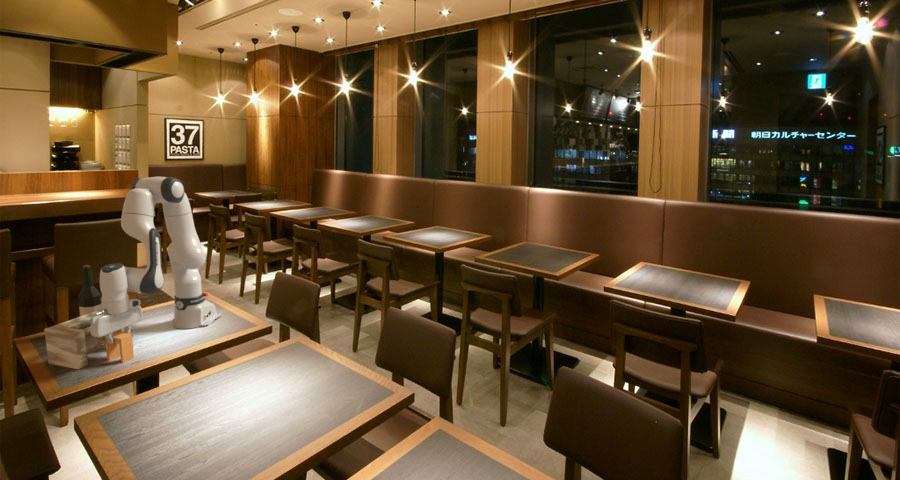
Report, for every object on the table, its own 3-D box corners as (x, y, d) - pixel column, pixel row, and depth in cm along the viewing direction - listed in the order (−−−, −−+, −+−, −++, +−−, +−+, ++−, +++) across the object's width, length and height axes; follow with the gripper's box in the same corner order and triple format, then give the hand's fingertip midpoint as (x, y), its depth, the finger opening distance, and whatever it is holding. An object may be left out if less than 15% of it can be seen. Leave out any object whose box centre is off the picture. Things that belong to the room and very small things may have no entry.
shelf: (104, 340, 216) (101, 309, 213) (131, 344, 213) (129, 313, 210) (48, 363, 193) (44, 329, 190) (77, 369, 190) (74, 334, 187)
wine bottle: (99, 326, 230) (93, 262, 224) (107, 330, 226) (101, 265, 220) (78, 331, 224) (71, 265, 218) (85, 336, 219) (78, 269, 213)
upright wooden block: (118, 355, 203) (116, 331, 201) (133, 357, 201) (131, 334, 199) (107, 360, 198) (105, 336, 196) (123, 363, 197) (120, 338, 194)
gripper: (98, 315, 185) (101, 351, 188) (144, 299, 204) (146, 331, 207) (84, 313, 186) (87, 348, 189) (131, 297, 206) (133, 329, 208)
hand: (118, 339), depth 198 cm, fingers closed on upright wooden block, 5 cm apart
